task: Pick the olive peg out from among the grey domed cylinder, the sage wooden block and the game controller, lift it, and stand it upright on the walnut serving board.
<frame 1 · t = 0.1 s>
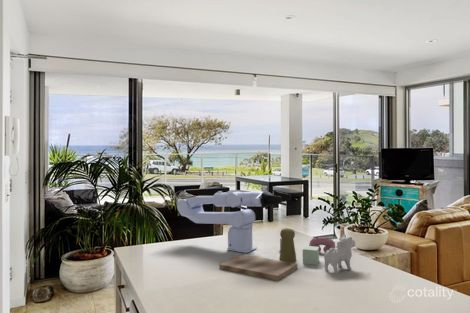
hand: (286, 198, 137), 22 cm above the kitchen island, tool horizontal, fingers open, 7 cm apart
grey domed cylinder: (286, 250, 147), on the kitchen island
dog figurine: (339, 269, 123), on the kitchen island
video game controller: (322, 253, 142), on the kitchen island
olive peg: (287, 260, 134), on the kitchen island
walnut board: (258, 268, 125), on the kitchen island
sage block: (311, 262, 131), on the kitchen island
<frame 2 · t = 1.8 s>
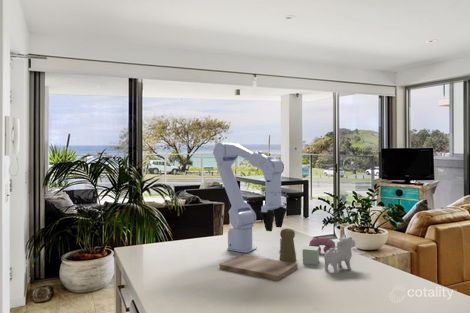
hand: (274, 229, 137), 10 cm above the kitchen island, tool pointing down, fingers open, 7 cm apart
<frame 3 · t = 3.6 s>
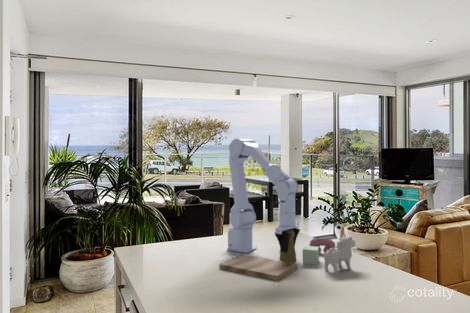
hand: (287, 250, 134), 3 cm above the kitchen island, tool pointing down, fingers closed on olive peg, 5 cm apart
olive peg: (287, 260, 134), on the kitchen island, touching gripper
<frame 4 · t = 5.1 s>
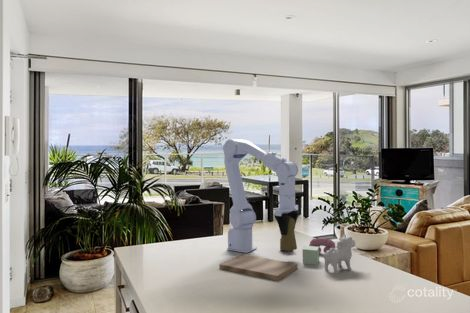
hand: (287, 233, 134), 10 cm above the kitchen island, tool pointing down, fingers closed on olive peg, 5 cm apart
olive peg: (288, 248, 134), point 4 cm above the kitchen island, touching gripper
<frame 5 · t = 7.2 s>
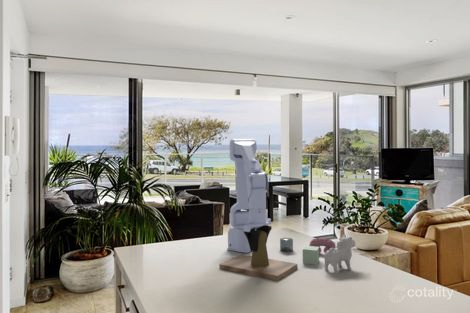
hand: (258, 249, 125), 6 cm above the kitchen island, tool pointing down, fingers closed on olive peg, 5 cm apart
olive peg: (260, 264, 125), point 1 cm above the kitchen island, touching gripper, walnut board
when the fingers open (6 cm above the kitchen island, at t = 7.9 s): olive peg stays where it is, resting on walnut board.
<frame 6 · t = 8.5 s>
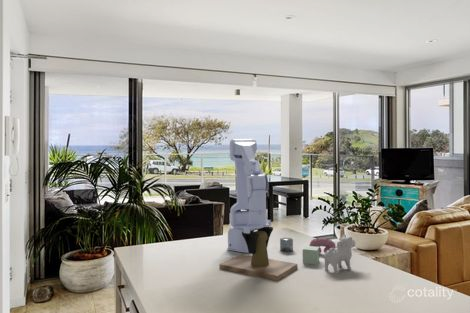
hand: (258, 250, 125), 6 cm above the kitchen island, tool pointing down, fingers open, 7 cm apart
olive peg: (260, 264, 125), point 1 cm above the kitchen island, touching walnut board
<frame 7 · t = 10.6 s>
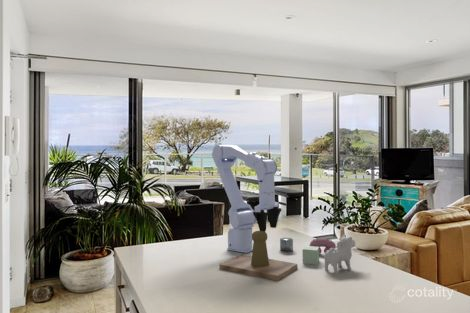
hand: (268, 229, 137), 10 cm above the kitchen island, tool pointing down, fingers open, 7 cm apart
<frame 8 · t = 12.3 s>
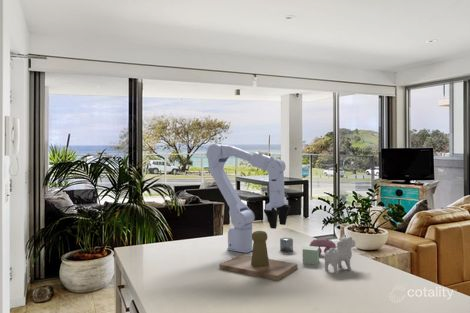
hand: (278, 226, 142), 10 cm above the kitchen island, tool pointing down, fingers open, 7 cm apart
at the end: olive peg inside the target area on the walnut board (0.6 cm from its centre), point 1.3 cm above the walnut board's base; olive peg tilted 0°; the gripper is holding nothing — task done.
